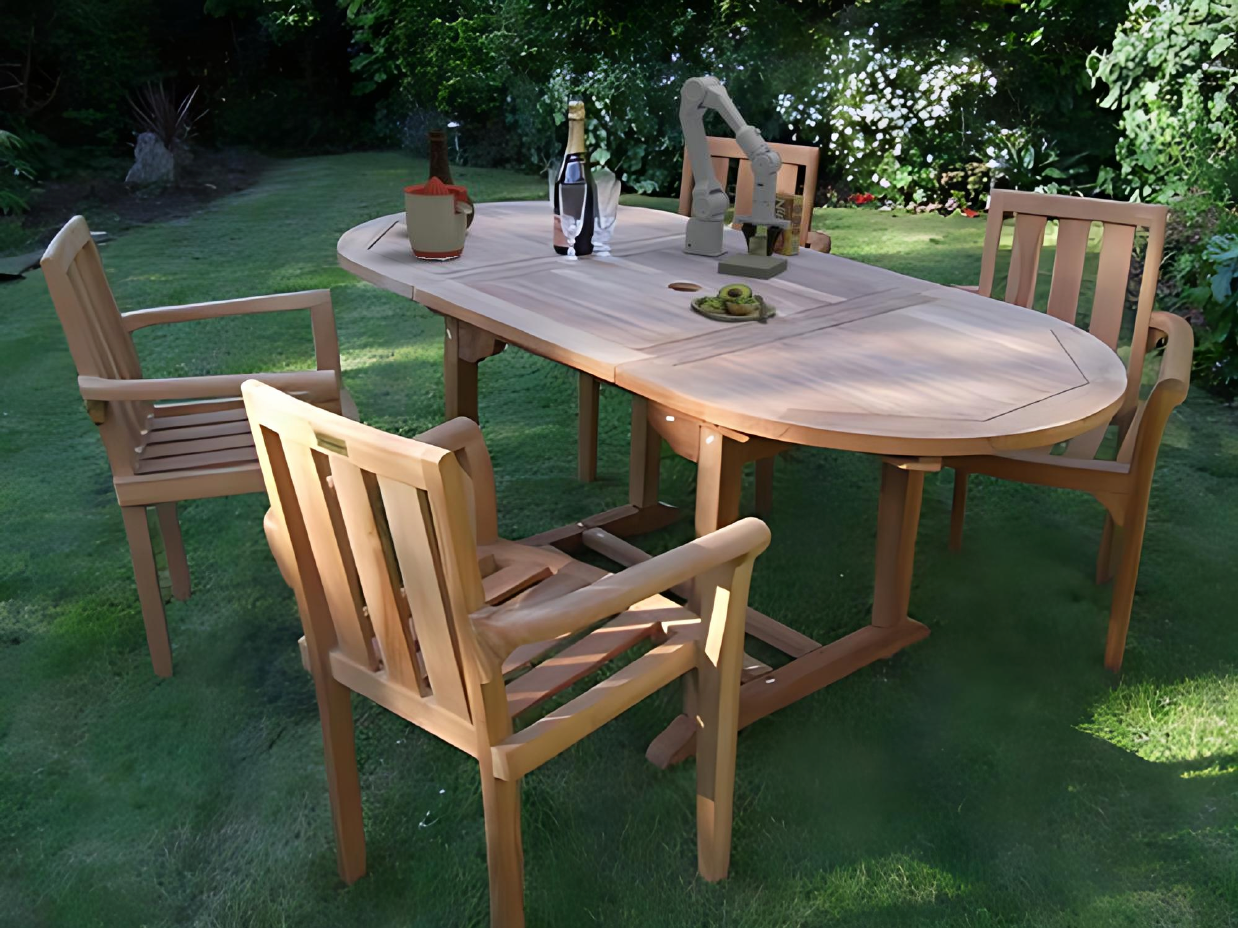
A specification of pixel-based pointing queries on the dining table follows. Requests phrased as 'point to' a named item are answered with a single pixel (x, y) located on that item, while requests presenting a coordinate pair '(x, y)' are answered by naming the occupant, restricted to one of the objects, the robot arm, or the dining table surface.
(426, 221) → the citrus juicer
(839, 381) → the dining table surface
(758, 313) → the salad plate
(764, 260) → the base board
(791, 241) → the candy box
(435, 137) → the glass bottle
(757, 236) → the sage block
